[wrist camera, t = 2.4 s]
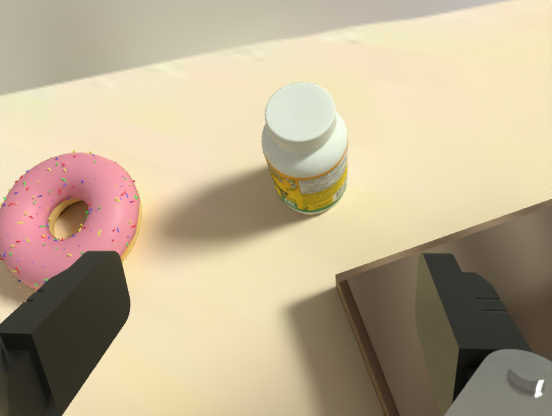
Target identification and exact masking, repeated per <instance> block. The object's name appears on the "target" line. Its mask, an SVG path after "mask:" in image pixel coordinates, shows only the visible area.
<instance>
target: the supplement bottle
mask: <svg viewBox="0 0 552 416" xmlns="http://www.w3.org/2000/svg"><path fill="white" fill-rule="evenodd" d="M265 120H266V124H265V126H264V129H263V133H262V148H263V153H264V155H265V158H266V161H267V164H268V167H269V169H270V173H271V175H272V179H273V181H274V184H275V187H276V190H277V193H278V195H279V197H280V199H281V200H282V201H283V202H284V204H286V205H287V206H288V207H290V208H291V209H293V210H295V211H297V212H299V213H302V214H309V215H312V214H319V213H322V212H325V211H327V210H329V209H331V208H332V207H334V206H335V205H336V204H337V203H338V202H339V201H340V199H341V198H342V196H343V194H344V192H345V190H346V185H347V152H348V135H347V129H346V125H345V123H344V121H343V119H342V117H341V116H340V115H339V113H338V112H337V111H336V108H335V103H334V101H333V98H332V97H331V95H330V94H329V93H328V92H327V91H326V90H325V89H324V88H322V87H320V86H318V85H316V84H313V83H307V82H298V83H293V84H289V85H287V86H284V87H282V88H281V89H279V90H278V91H277V92H275V93H274V94H273V95H272V96H271V98H270V99H269V101H268V103H267V106H266V109H265Z"/></svg>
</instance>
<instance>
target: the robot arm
mask: <svg viewBox="0 0 552 416" xmlns="http://www.w3.org/2000/svg"><path fill="white" fill-rule="evenodd" d="M129 312H130V296H129V292H128V288H127V283H126V279H125V274H124V270H123V266H122V261H121V258H120V255H119V254H118V253H117V252H116V251H87V252H85V253H84V254H83V255H82V256H81V257H80V258H79V259H78V260H76V261H75V262H74V263H73V264H72V265H71V266H70V267H69V268H68V269H66V270H64V271H62V272H60V273H59V274H57V275H55V276H53V277H51V278H50V279H49V280H48V281H47V282H46V283H44V284H43V285H42V286H41V287H40V288H39V289H38V290H37V292H35V293H34V294H32V295H31V296H30V297H29V298H28V299H27V302H24V303H23V304H21V305H20V306H19V307H18V308H17V309H16V310H15V311H14V312H13V313H12V314H11V315H9V316H8V317H7V318H6V319H5V320H4V321H3V322H2V323H1V324H0V416H62V415H63V413H64V412H65V410H66V409H67V407H68V406H69V405H70V403H71V402H72V400H73V399H74V397H75V396H76V394H77V393H78V391H79V390H80V388H81V387H82V386H83V384H84V383H85V381H86V380H87V378H88V377H89V375H90V374H91V372H92V371H93V369H94V368H95V367H96V365H97V364H98V362H99V361H100V359H101V358H102V356H103V355H104V353H105V352H106V350H107V349H108V348H109V346H110V345H111V343H112V342H113V340H114V339H115V337H116V336H117V334H118V333H119V331H120V330H121V329H122V327H123V326H124V324H125V323H126V321H127V319H128V316H129ZM415 319H416V327H417V332H418V335H419V339H420V343H421V346H422V350H423V354H424V357H425V361H426V365H427V369H428V372H429V376H430V380H431V383H432V387H433V391H434V394H435V398H436V402H437V406H438V409H439V413H440V416H552V362H551V361H549V360H548V359H546V358H544V357H542V356H539V355H537V354H534V353H533V352H532V351H531V349H530V347H529V346H528V344H527V342H526V341H525V339H524V337H523V336H522V334H521V332H520V331H519V329H518V327H517V326H516V324H515V322H514V321H513V319H512V317H511V316H510V314H509V313H507V309H506V307H505V306H504V304H503V302H502V301H500V297H499V296H498V294H497V292H496V291H495V289H494V287H493V286H492V284H491V283H489V282H488V281H487V280H485V279H484V278H482V277H481V276H480V275H478V274H477V273H476V272H462V270H461V268H460V267H459V265H458V263H457V261H456V259H455V257H454V255H453V253H451V252H421V253H420V255H419V259H418V272H417V286H416V299H415Z"/></svg>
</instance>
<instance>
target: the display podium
mask: <svg viewBox="0 0 552 416" xmlns="http://www.w3.org/2000/svg"><path fill="white" fill-rule="evenodd" d="M421 252H451V253H453V255H454V257H455V259H456V261H457V263H458V265H459V267H460V268H461V270H462V272H476V273H477V274H478V275H480V276H481V277H482V278H484V279H485V280H487V281H488V282H489V283H491V284H492V286H493V287H494V289H495V291H496V292H497V294H498V296H499V297H500V301H502V302H503V304H504V306H505V307H506V309H507V313H509V314H510V316H511V317H512V319H513V321H514V322H515V324H516V326H517V327H518V329H519V331H520V332H521V334H522V336H523V337H524V339H525V341H526V342H527V344H528V346H529V347H530V349H531V351H532V352H533V353H534V354H537V355H539V356H542V357H544V358H546V359H548V360H549V361H551V362H552V199H550V200H547V201H545V202H542V203H539V204H536V205H533V206H530V207H527V208H525V209H522V210H519V211H516V212H513V213H510V214H508V215H505V216H502V217H499V218H496V219H493V220H490V221H488V222H485V223H482V224H479V225H476V226H473V227H470V228H468V229H465V230H462V231H459V232H456V233H453V234H450V235H448V236H445V237H442V238H439V239H436V240H433V241H431V242H428V243H425V244H422V245H419V246H416V247H413V248H411V249H408V250H405V251H402V252H399V253H396V254H393V255H391V256H388V257H385V258H382V259H379V260H376V261H373V262H371V263H368V264H365V265H362V266H359V267H356V268H354V269H351V270H348V271H345V272H342V273H339V274H336V287H337V290H338V293H339V295H340V298H341V301H342V303H343V306H344V308H345V311H346V314H347V316H348V319H349V322H350V324H351V327H352V330H353V332H354V335H355V337H356V340H357V343H358V345H359V348H360V351H361V353H362V356H363V358H364V361H365V364H366V366H367V369H368V372H369V374H370V377H371V380H372V382H373V385H374V387H375V390H376V393H377V395H378V398H379V401H380V403H381V406H382V409H383V411H384V414H385V416H440V413H439V409H438V406H437V402H436V398H435V394H434V391H433V387H432V383H431V380H430V376H429V372H428V369H427V365H426V361H425V357H424V354H423V350H422V346H421V343H420V339H419V335H418V332H417V327H416V319H415V299H416V286H417V272H418V259H419V255H420V253H421Z"/></svg>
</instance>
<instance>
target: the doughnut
mask: <svg viewBox="0 0 552 416" xmlns="http://www.w3.org/2000/svg"><path fill="white" fill-rule="evenodd" d="M91 153H92V151H91V152H90V153H87V152H86V153H75V150H73V153H69V154H64V155H60V156H56V157H53V158H50V159H48V160H46V161H43V162H41V163H40V164H38V165H36V166H35V167H33V168H32V169H30V170H28V171H26V172H27V173H25V174H24V175H23V176H21V177H20V179H19V180H18V181H15V185H14V186H13V187H12V189H9V190H10V191H9V193H8V195H7V196H6V198H5V197H4V199H5V200H4V202H3V204H2V203H0V205H1V209H0V256H1V257H2V258H0V259H1V260H3V261H4V263H5V264H6V266H7V267H8V269H9V270H10V271H11V272H12V273H13V274H14V275H15V276H16V277H17V278H18V279H19V280H18V282H20V281H21V282H23V283H24V284H26V285H27V286H29V287H32V288H34V289H37V290H38V289H39V288H40V287H41V286H42V285H43V284H44V283H46V282H47V281H48V280H49V279H50V278H51V277H53V276H55V275H57V274H59V273H60V272H62V271H64V270H66V269H68V268H69V267H70V266H71V265H72V264H73V263H74V262H75V261H76V260H78V259H79V258H80V257H81V256H82V255H83V254H84V253H85V252H87V251H116V252H117V253H118V254H119V255H120V258H121V261H122V262H123V261H124V260H125V258H126V257H127V256H128V254H129V253H130V251H131V249H132V248H133V246H134V244H135V242H136V239H137V237H138V234H139V230H140V226H141V219H142V208H141V201H140V197H139V194H138V191H137V189H136V187H135V185H134V182H135V181H134V180H132V179H131V177H130V175H129V174H128V173H127V172H126V171H125V170H124V169H123V168H122V167H121V166H120V165H118V164H117V163H116V162H114V161H112V160H109V159H107V158H104V157H101V156H98V155H94V154H91ZM77 201H84V202H85V203H86V204H87V205H88V212H87V211H86V214H87V215H86V216H85V217H86V221H85V223H84V224H83V225H82V224H80V225H81V226H82V227H80V228H79V231H78V232H77V233H76V234H73V236H71V237H69V238H67V239H65V240H63V238H62V240H59V239H57V238H55V235H54V226H55V223H56V220H57V218H58V216H59V215H60V213H61V212H62V211H63V210H64V209H65V208H66V207H67V206H69V205H70V204H72V203H74V202H77Z"/></svg>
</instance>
